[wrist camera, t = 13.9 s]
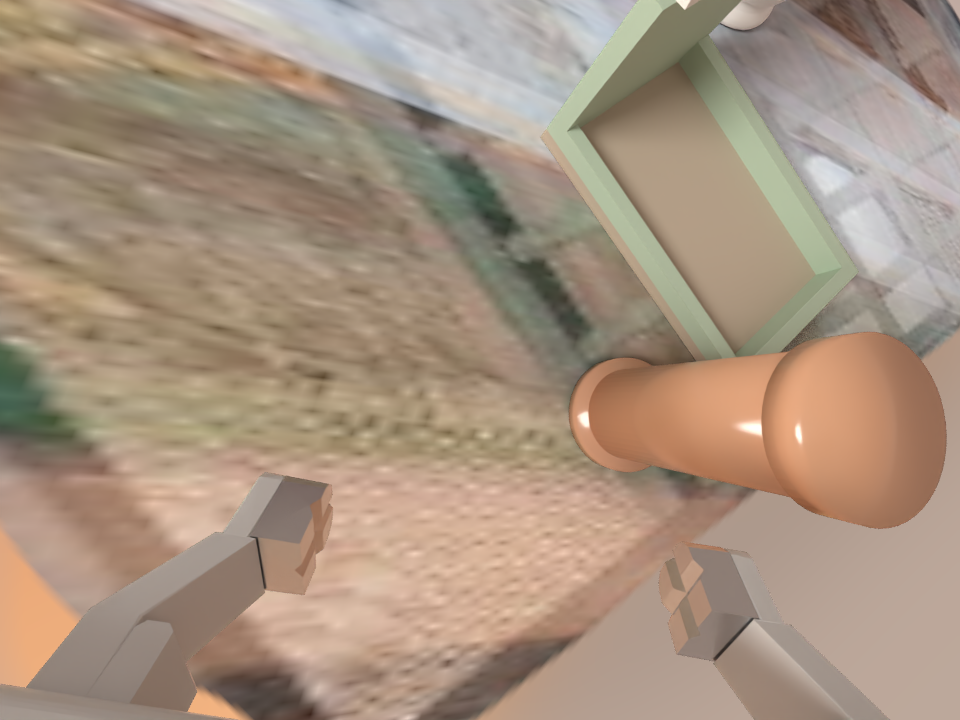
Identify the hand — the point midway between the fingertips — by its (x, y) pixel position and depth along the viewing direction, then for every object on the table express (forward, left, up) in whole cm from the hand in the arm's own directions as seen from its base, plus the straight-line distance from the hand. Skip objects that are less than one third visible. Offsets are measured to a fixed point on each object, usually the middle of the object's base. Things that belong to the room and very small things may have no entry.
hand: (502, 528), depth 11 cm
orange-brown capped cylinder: (+7, +12, -16) cm, 22 cm away
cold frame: (0, +27, -18) cm, 32 cm away
